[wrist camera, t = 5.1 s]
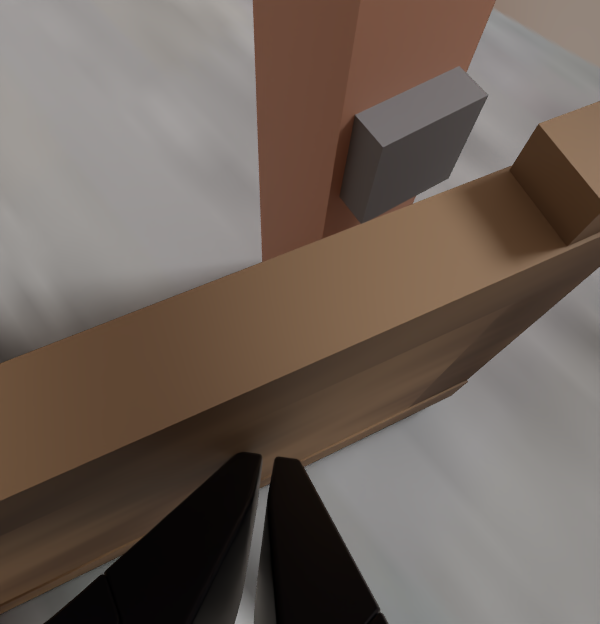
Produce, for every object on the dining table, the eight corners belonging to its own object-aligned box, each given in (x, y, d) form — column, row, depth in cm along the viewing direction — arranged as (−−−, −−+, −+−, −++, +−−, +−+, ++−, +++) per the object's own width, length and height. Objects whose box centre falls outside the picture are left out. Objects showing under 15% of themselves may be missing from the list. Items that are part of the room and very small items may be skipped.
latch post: (317, 364, 16) (411, -17, 5) (263, 283, 17) (246, -176, 6) (382, 324, 17) (590, -90, 6) (327, 249, 18) (414, -224, 7)
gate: (-99, 663, 12) (-1435, 1088, 3) (-109, 605, 13) (-1280, 789, 3) (448, 398, 15) (736, 155, 6) (425, 359, 16) (657, 75, 6)
